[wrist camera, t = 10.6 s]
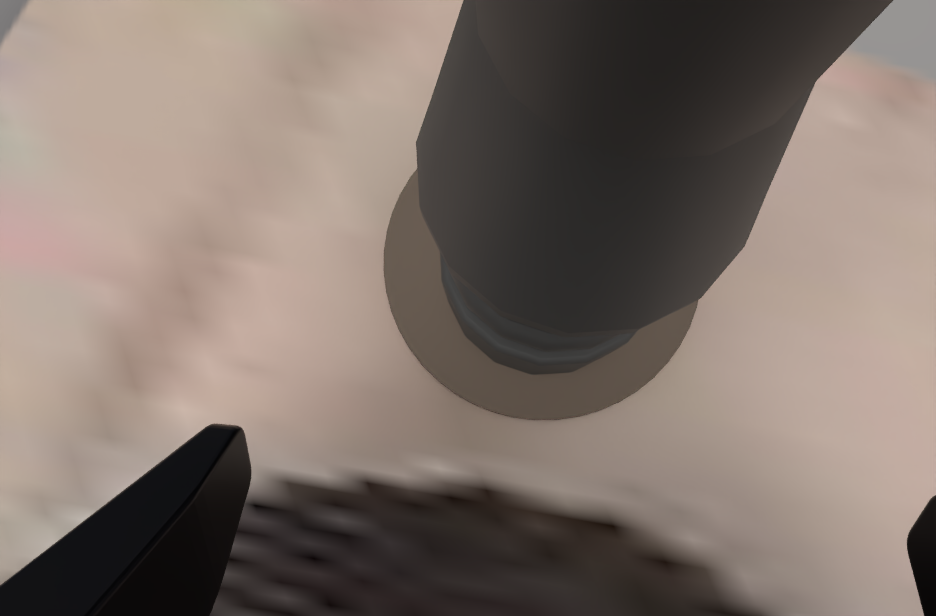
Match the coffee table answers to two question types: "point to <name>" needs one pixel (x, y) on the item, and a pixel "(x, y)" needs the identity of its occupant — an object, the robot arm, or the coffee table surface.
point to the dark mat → (479, 377)
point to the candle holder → (609, 158)
